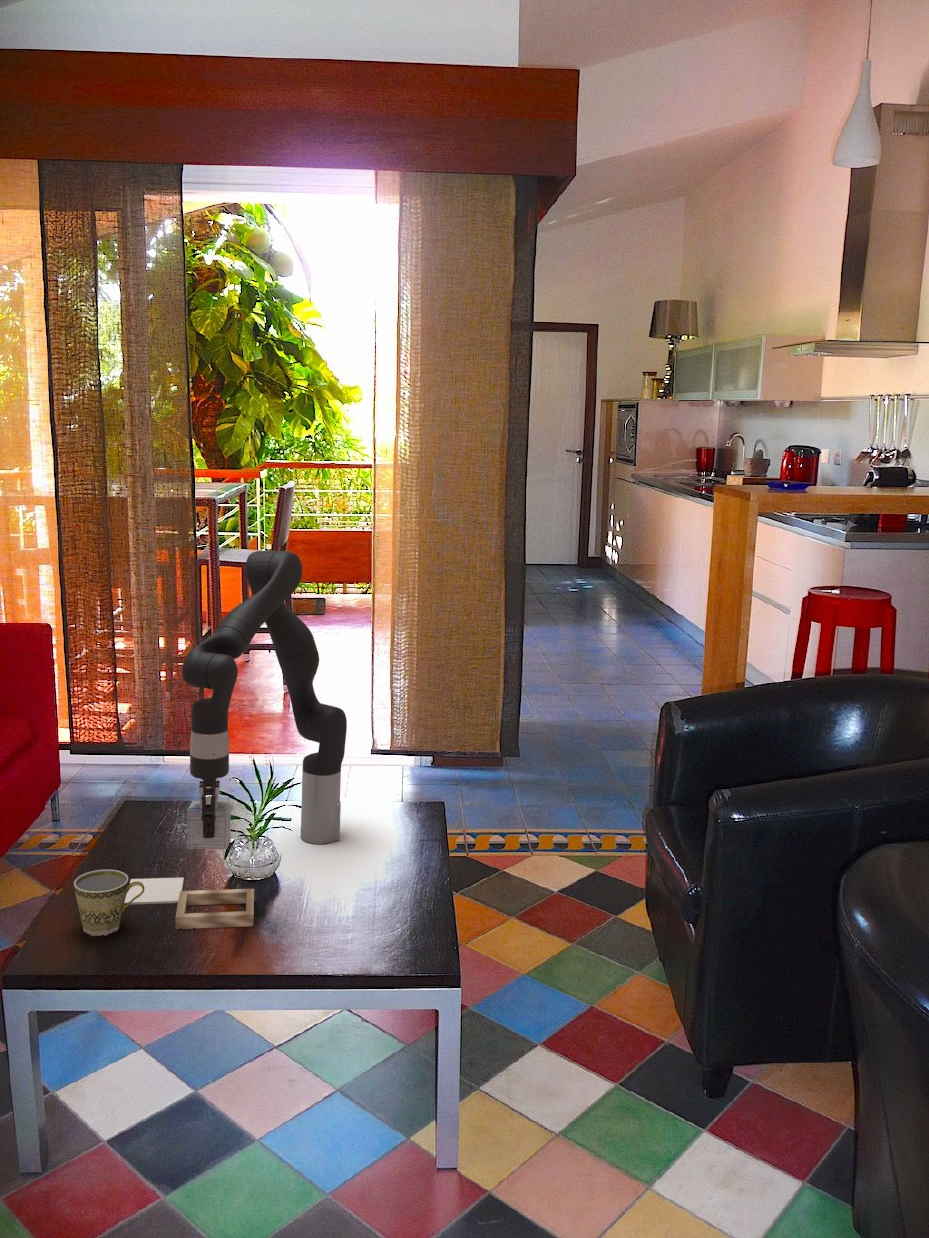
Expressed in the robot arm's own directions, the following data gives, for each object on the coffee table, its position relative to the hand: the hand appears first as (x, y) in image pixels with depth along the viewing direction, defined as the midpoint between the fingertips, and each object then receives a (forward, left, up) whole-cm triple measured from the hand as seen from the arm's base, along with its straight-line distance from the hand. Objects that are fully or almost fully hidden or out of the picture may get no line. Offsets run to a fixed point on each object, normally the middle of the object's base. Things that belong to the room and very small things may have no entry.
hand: (209, 831), depth 204 cm
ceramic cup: (+18, +6, -17) cm, 26 cm away
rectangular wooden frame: (-2, +2, -17) cm, 17 cm away
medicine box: (0, 0, -3) cm, 3 cm away
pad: (+11, -9, -17) cm, 23 cm away
